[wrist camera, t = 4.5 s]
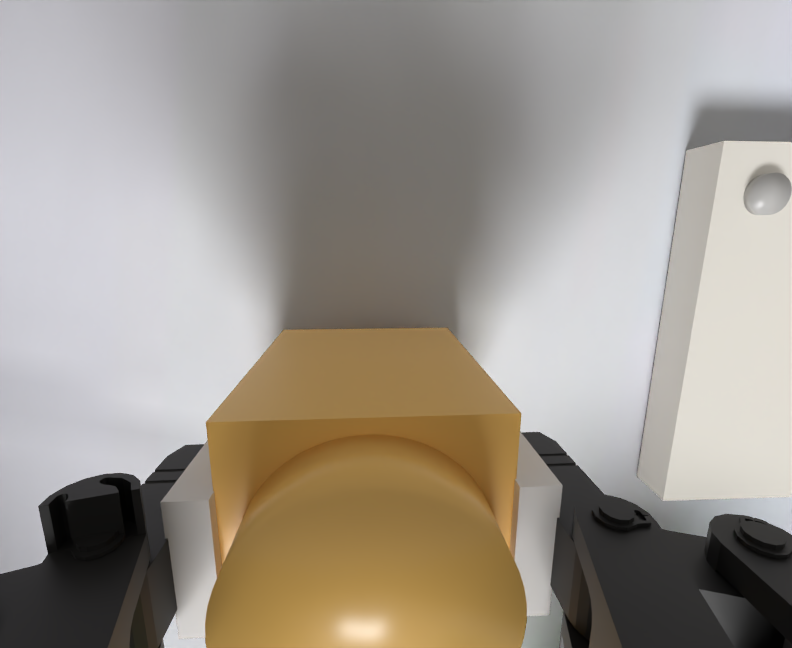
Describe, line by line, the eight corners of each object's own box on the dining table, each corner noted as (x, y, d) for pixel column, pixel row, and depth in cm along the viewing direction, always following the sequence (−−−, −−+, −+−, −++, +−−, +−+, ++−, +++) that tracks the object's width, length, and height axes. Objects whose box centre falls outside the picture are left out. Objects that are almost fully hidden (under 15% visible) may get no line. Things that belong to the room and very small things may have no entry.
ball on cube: (292, 477, 14) (201, 780, 6) (283, 329, 13) (160, 475, 5) (442, 471, 14) (533, 751, 7) (447, 327, 13) (562, 460, 6)
